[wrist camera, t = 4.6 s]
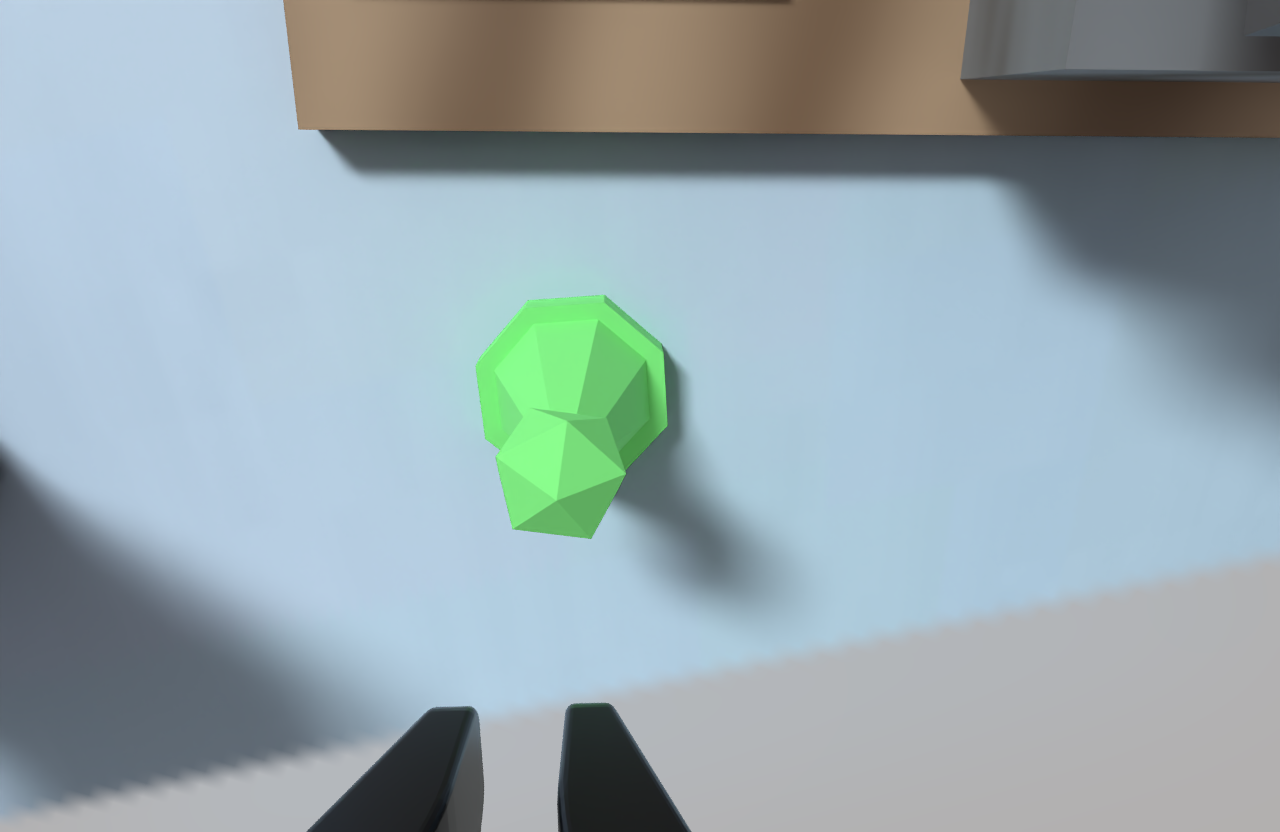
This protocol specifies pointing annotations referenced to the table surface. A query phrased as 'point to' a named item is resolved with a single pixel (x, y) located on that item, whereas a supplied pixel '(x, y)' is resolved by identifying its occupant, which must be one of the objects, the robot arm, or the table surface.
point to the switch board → (786, 67)
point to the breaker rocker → (1262, 18)
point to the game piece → (569, 409)
